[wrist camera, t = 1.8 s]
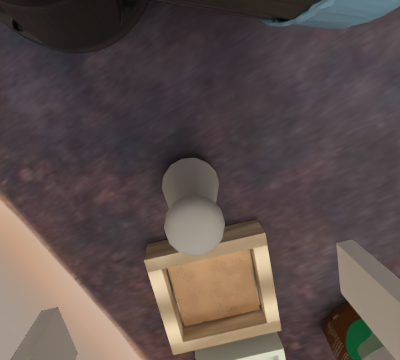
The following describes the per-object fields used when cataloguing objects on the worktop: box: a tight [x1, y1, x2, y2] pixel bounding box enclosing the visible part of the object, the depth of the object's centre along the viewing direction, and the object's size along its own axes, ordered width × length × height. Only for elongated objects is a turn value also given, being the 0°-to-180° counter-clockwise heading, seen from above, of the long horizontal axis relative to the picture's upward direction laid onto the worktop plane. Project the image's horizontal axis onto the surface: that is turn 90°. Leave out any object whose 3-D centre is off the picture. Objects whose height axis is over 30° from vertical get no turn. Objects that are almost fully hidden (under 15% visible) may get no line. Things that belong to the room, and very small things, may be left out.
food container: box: [322, 302, 395, 360], centre depth 34 cm, size 12×6×10 cm, turn 85°
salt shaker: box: [162, 158, 225, 256], centre depth 26 cm, size 6×6×13 cm
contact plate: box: [168, 250, 260, 326], centre depth 35 cm, size 9×9×1 cm
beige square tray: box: [144, 219, 281, 355], centre depth 34 cm, size 13×13×4 cm
